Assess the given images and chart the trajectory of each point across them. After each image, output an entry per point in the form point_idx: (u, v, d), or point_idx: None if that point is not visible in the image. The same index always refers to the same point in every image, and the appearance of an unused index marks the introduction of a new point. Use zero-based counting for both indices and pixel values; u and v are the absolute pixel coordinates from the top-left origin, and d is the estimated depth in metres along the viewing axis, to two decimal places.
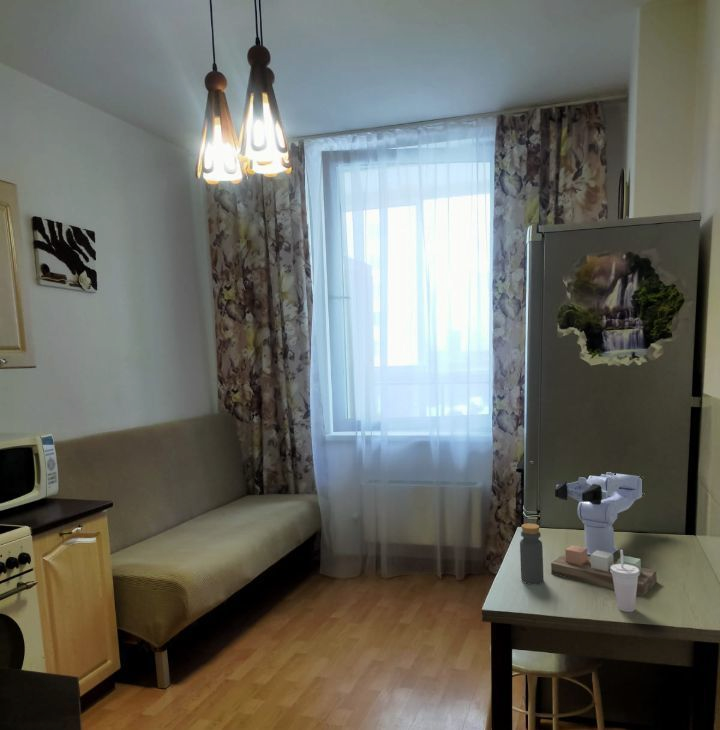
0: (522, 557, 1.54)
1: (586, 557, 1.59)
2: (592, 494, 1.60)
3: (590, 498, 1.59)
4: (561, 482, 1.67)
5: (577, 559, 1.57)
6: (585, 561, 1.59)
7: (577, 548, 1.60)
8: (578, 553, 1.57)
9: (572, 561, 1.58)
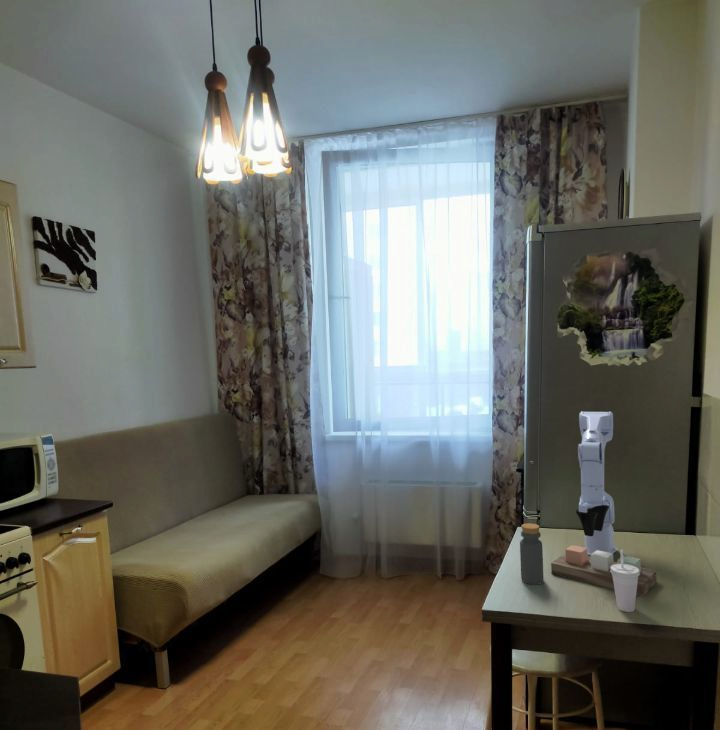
0: (522, 557, 1.54)
1: (586, 557, 1.59)
2: None
3: None
4: (595, 517, 1.56)
5: (577, 559, 1.57)
6: (585, 561, 1.59)
7: (577, 548, 1.60)
8: (578, 553, 1.57)
9: (572, 561, 1.58)
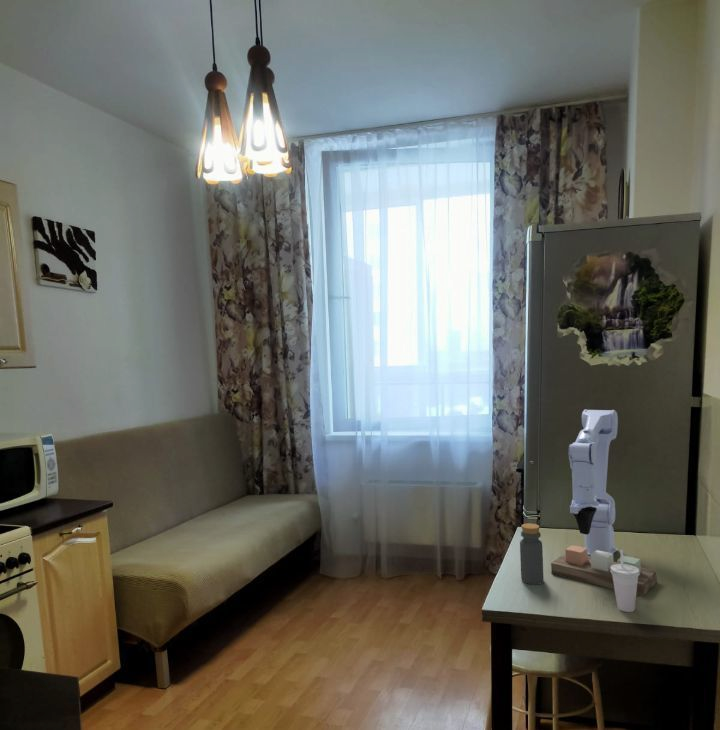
0: (522, 557, 1.54)
1: (586, 557, 1.59)
2: None
3: None
4: (590, 515, 1.58)
5: (577, 559, 1.57)
6: (585, 561, 1.59)
7: (577, 548, 1.60)
8: (578, 553, 1.57)
9: (572, 561, 1.58)
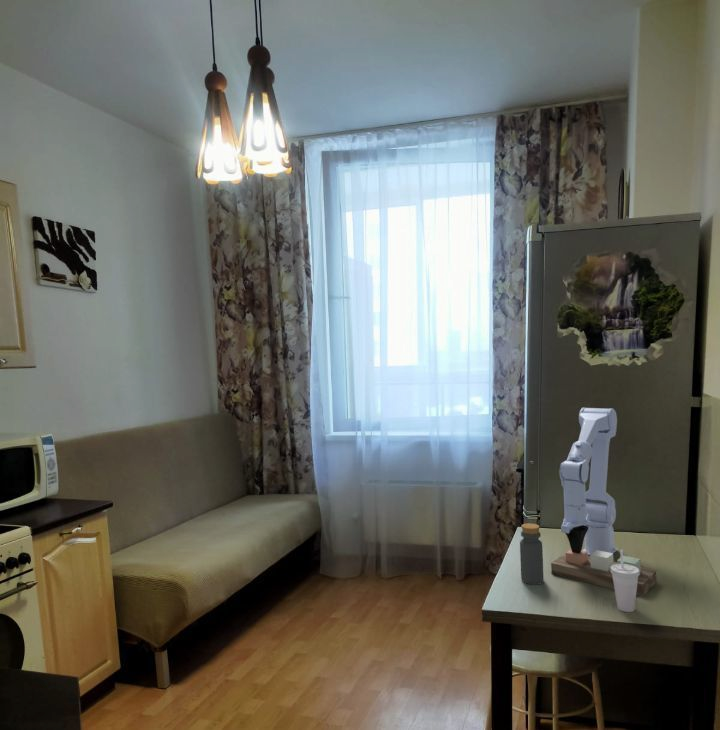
0: (522, 557, 1.54)
1: (586, 560, 1.59)
2: None
3: None
4: (582, 534, 1.57)
5: (578, 563, 1.57)
6: None
7: None
8: (578, 557, 1.57)
9: None
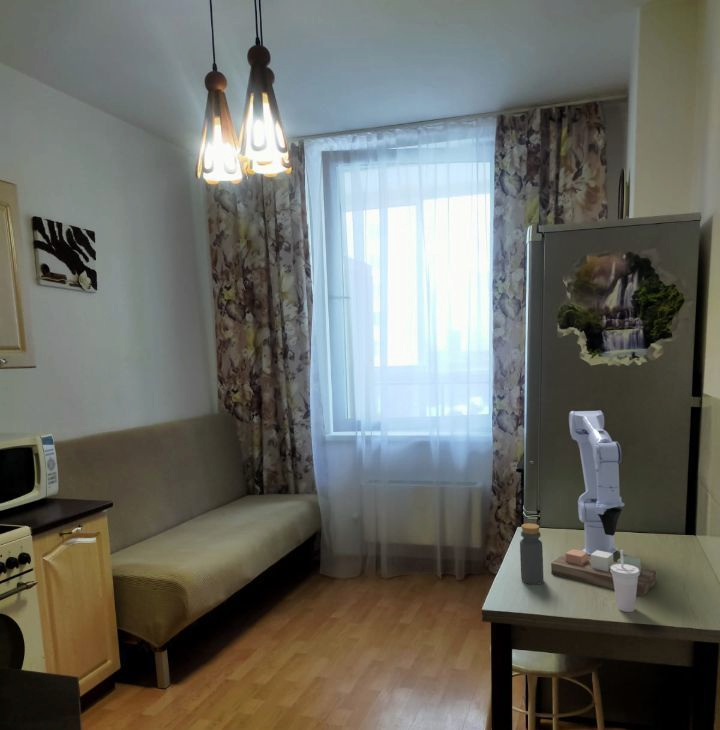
0: (522, 557, 1.54)
1: (586, 561, 1.59)
2: None
3: None
4: (615, 516, 1.56)
5: (578, 564, 1.57)
6: None
7: (578, 552, 1.60)
8: (578, 557, 1.57)
9: None
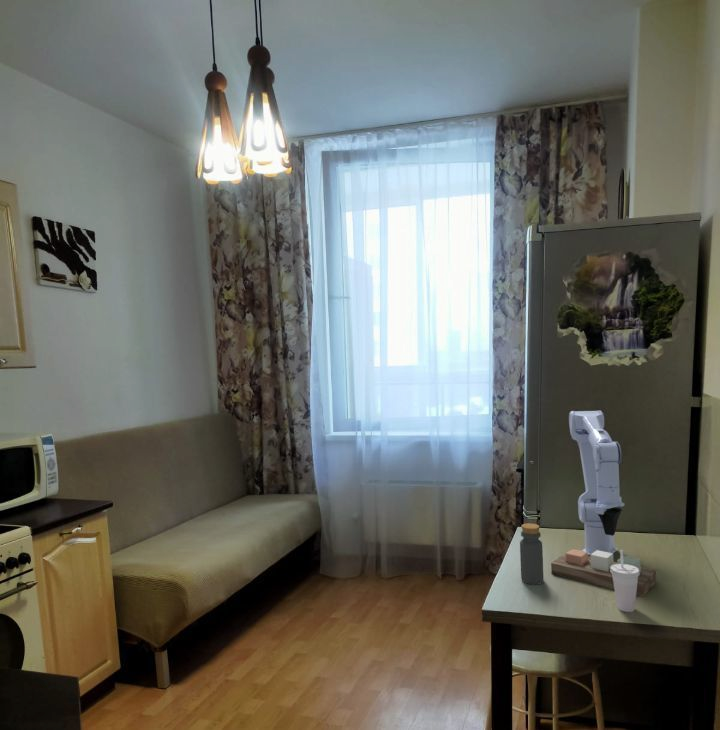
0: (522, 557, 1.54)
1: (586, 561, 1.59)
2: None
3: None
4: (615, 516, 1.56)
5: (578, 564, 1.57)
6: None
7: (578, 552, 1.60)
8: (578, 557, 1.57)
9: None
